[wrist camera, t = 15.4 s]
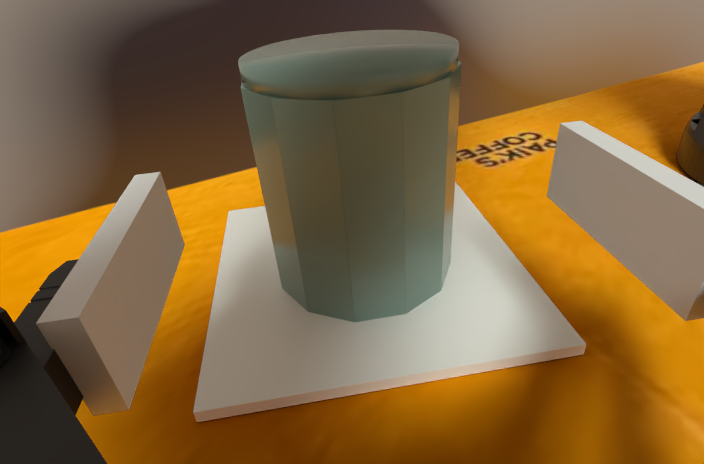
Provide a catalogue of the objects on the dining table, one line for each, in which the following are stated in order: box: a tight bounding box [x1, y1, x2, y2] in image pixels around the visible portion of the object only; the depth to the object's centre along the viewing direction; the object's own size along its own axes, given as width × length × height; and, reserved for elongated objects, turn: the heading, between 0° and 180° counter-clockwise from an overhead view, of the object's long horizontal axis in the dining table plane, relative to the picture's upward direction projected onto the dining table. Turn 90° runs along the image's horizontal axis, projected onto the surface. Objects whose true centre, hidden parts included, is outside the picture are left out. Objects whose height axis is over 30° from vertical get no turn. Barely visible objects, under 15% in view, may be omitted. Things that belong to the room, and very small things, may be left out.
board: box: [193, 182, 587, 422], centre depth 24 cm, size 16×16×1 cm
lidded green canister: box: [238, 30, 461, 322], centre depth 21 cm, size 9×9×11 cm
